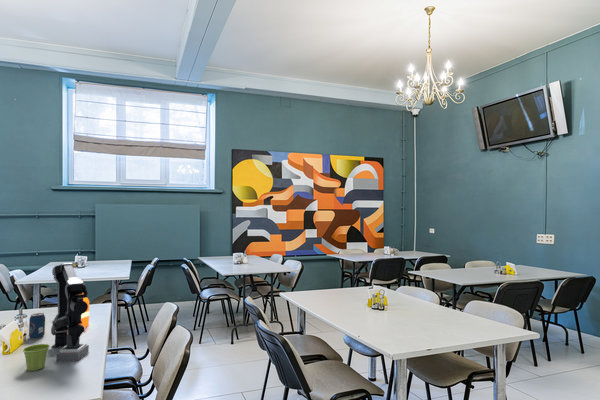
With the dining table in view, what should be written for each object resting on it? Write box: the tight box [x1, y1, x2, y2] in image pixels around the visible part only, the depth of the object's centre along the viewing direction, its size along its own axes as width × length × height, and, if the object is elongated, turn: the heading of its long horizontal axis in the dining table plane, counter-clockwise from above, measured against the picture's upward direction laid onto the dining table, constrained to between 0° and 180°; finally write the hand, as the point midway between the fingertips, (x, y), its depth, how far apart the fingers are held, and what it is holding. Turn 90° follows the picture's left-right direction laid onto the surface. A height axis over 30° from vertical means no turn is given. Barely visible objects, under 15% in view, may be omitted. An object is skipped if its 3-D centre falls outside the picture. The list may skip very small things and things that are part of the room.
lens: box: [67, 333, 81, 349], centre depth 177 cm, size 5×5×8 cm
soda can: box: [28, 312, 46, 340], centre depth 205 cm, size 7×7×12 cm
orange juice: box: [80, 294, 90, 328], centre depth 223 cm, size 8×9×20 cm
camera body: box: [55, 343, 90, 363], centre depth 177 cm, size 11×9×5 cm
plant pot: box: [22, 343, 50, 372], centre depth 164 cm, size 9×9×9 cm
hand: (73, 344), depth 177 cm, fingers open, 5 cm apart
